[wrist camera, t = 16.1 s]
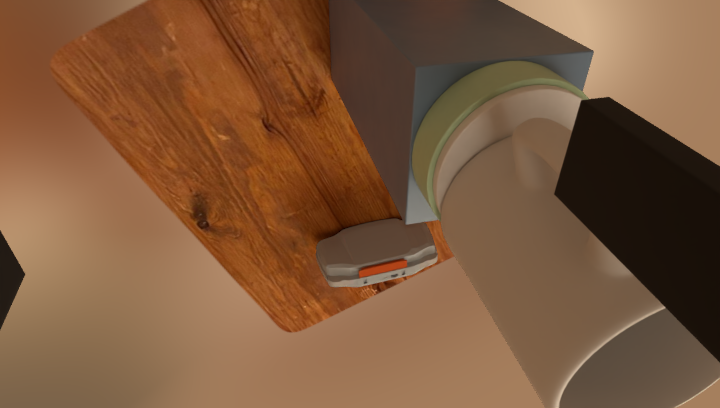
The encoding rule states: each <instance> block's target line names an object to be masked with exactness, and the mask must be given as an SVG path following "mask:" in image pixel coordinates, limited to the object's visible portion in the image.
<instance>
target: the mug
mask: <svg viewBox="0 0 720 408" xmlns="http://www.w3.org/2000/svg"><path fill="white" fill-rule="evenodd" d="M571 133H572V131H571V130H570V129H568V128H566V127H565V126H563V125H561V124H559V123H557V122H555V121H553V120H550V119H548V118H532V119H528V120H526V121H525V122H523V123H521V124H520V125H518V126H517V128H516V129H515V130H514V132H513V135H512V136H509V137H507V138H504V139H502V140H500V141H498V142H496V143H494V144H492V145H490V146H489V147H487V148H485V149H484V150H482V151H481V152H480V153H478V154H477V155H476V156H475V157H473V158H472V159H471V160H470V161H469V162H468V163H467V164H466V165H465V166H464V167H463V168H462V170H461V171H460V172H459V173H458V174H457V176H456V177H455V179H454V180H453V182H452V183H451V185H450V187H449V189H448V191H447V193H446V196H445V199H444V201H443V205H442V210H441V227H442V231H443V235H444V238H445V240H446V242H447V244H448V246H449V248H450V250H451V251H452V253H453V254H454V256H455V258H456V259H457V261H458V262H459V264H460V265H461V267H462V268H463V270H464V271H465V273H466V275H467V276H468V278H469V280H470V281H471V283H472V285H473V286H474V288H475V290H476V291H477V293H478V295H479V296H480V298H481V300H482V302H483V303H484V305H485V307H486V308H487V310H488V312H489V313H490V315H491V316H492V318H493V320H494V322H495V324H496V325H497V327H498V329H499V330H500V332H501V334H502V335H503V337H504V338H505V340H506V342H507V344H508V345H509V347H510V349H511V351H512V352H513V354H514V356H515V357H516V359H517V361H518V362H519V364H520V366H521V367H522V369H523V371H524V372H525V374H526V376H527V378H528V379H529V381H530V383H531V384H532V386H533V388H534V389H535V391H536V393H537V394H538V396H539V398H540V400H541V401H542V403H543V405H544V406H545V408H677V407H679V406H680V405H682V404H684V403H685V402H687V401H689V400H690V399H692V398H693V397H695V396H697V395H698V394H700V393H701V392H703V391H704V390H705V389H707V388H708V387H710V386H711V385H712V384H714V383H715V382H716V381H718V380H719V379H720V362H719V361H718V360H717V359H716V358H715V357H714V356H713V355H712V354H711V353H710V352H709V351H708V350H707V349H706V348H705V347H704V346H703V345H702V344H701V343H700V342H699V341H698V340H697V339H696V338H695V337H694V336H693V335H692V334H691V333H690V332H689V331H688V330H687V329H686V328H685V327H684V326H683V325H682V324H681V323H680V322H679V321H678V320H677V319H676V318H675V317H674V316H673V315H672V314H671V313H670V312H669V311H668V310H667V309H666V308H665V307H664V306H663V305H662V304H661V302H660V301H659V300H658V299H657V298H656V297H655V296H654V295H653V294H652V293H651V292H650V291H649V290H648V289H647V288H646V287H645V286H644V285H643V284H642V283H641V282H640V281H639V280H638V279H637V278H636V277H635V276H634V275H633V274H632V273H631V272H630V271H629V270H628V269H627V268H626V267H625V266H624V265H623V264H622V263H621V262H620V261H619V260H618V259H617V258H616V257H615V256H614V255H613V254H612V253H611V252H610V251H609V250H608V249H607V248H606V247H605V246H604V245H603V244H602V243H601V242H600V241H599V240H598V238H597V237H596V236H595V235H594V234H593V233H592V232H591V231H590V230H589V229H588V228H587V227H586V226H585V225H584V224H583V223H582V222H581V221H580V220H579V219H578V218H577V217H576V216H575V215H574V214H573V213H572V212H571V211H570V210H569V209H568V208H567V207H566V206H565V205H564V204H563V203H562V202H561V201H560V200H559V199H558V198H557V197H556V196H555V195H554V192H555V189H556V185H557V182H558V178H559V175H560V171H561V168H562V164H563V161H564V158H565V154H566V151H567V147H568V144H569V140H570V137H571Z"/></svg>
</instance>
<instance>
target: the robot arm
mask: <svg viewBox="0 0 720 408" xmlns="http://www.w3.org/2000/svg"><path fill="white" fill-rule="evenodd" d="M554 195H555V196H556V197H557V198H558V199H559V200H560V201H561V202H562V203H563V204H564V205H565V206H566V207H567V208H568V209H569V210H570V211H571V212H572V213H573V214H574V215H575V216H576V217H577V218H578V219H579V220H580V221H581V222H582V223H583V224H584V225H585V226H586V227H587V228H588V229H589V230H590V231H591V232H592V233H593V234H594V235H595V236H596V237H597V238H598V240H599V241H600V242H601V243H602V244H603V245H604V246H605V247H606V248H607V249H608V250H609V251H610V252H611V253H612V254H613V255H614V256H615V257H616V258H617V259H618V260H619V261H620V262H621V263H622V264H623V265H624V266H625V267H626V268H627V269H628V270H629V271H630V272H631V273H632V274H633V275H634V276H635V277H636V278H637V279H638V280H639V281H640V282H641V283H642V284H643V285H644V286H645V287H646V288H647V289H648V290H649V291H650V292H651V293H652V294H653V295H654V296H655V297H656V298H657V299H658V300H659V301H660V302H661V304H662V305H663V306H664V307H665V308H666V309H667V310H668V311H669V312H670V313H671V314H672V315H673V316H674V317H675V318H676V319H677V320H678V321H679V322H680V323H681V324H682V325H683V326H684V327H685V328H686V329H687V330H688V331H689V332H690V333H691V334H692V335H693V336H694V337H695V338H696V339H697V340H698V341H699V342H700V343H701V344H702V345H703V346H704V347H705V348H706V349H707V350H708V351H709V352H710V353H711V354H712V355H713V356H714V357H715V358H716V359H717V360H718V361H719V362H720V166H718V165H717V164H715V163H713V162H712V161H710V160H708V159H707V158H705V157H704V156H702V155H701V154H699V153H697V152H696V151H694V150H693V149H691V148H690V147H688V146H686V145H685V144H683V143H681V142H680V141H678V140H677V139H675V138H674V137H672V136H670V135H669V134H667V133H665V132H664V131H662V130H661V129H659V128H658V127H656V126H654V125H653V124H651V123H650V122H648V121H646V120H645V119H643V118H642V117H640V116H638V115H637V114H635V113H634V112H632V111H630V110H629V109H627V108H626V107H624V106H622V105H621V104H619V103H618V102H616V101H614V100H613V99H611V98H610V97H606V98H597V99H587V100H581V102H580V106H579V109H578V112H577V116H576V119H575V123H574V126H573V130H572V133H571V137H570V140H569V144H568V147H567V151H566V154H565V158H564V161H563V164H562V168H561V171H560V175H559V178H558V182H557V185H556V189H555V192H554ZM24 276H25V273H24V272H23V269H22V268H21V266H20V264H19V263H18V261H17V259H16V257H15V256H14V254H13V252H12V250H11V248H10V247H9V245H8V243H7V241H6V240H5V238H4V236H3V235H2V233H1V231H0V329H1V327H2V325H3V323H4V320H5V318H6V316H7V313H8V311H9V309H10V307H11V305H12V302H13V300H14V298H15V296H16V294H17V291H18V289H19V287H20V285H21V282H22V280H23V278H24Z"/></svg>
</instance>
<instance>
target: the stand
mask: <svg viewBox="0 0 720 408" xmlns="http://www.w3.org/2000/svg"><path fill="white" fill-rule="evenodd" d="M329 22H330V48H331V75H332V81H333V83H334V85H335V87H336V89H337V91H338V93H339V95H340V97H341V99H342V101H343V103H344V105H345V107H346V109H347V111H348V113H349V115H350V117H351V119H352V121H353V123H354V124H355V126H356V128H357V130H358V132H359V134H360V136H361V138H362V140H363V142H364V144H365V146H366V148H367V150H368V152H369V154H370V156H371V158H372V160H373V162H374V164H375V166H376V168H377V170H378V172H379V174H380V176H381V178H382V180H383V182H384V184H385V186H386V188H387V190H388V192H389V194H390V196H391V198H392V200H393V201H394V203H395V205H396V207H397V209H398V211H399V213H400V215H401V217H402V219H403V221H404V223H405V224H406V225H407V224H414V223H420V222H427V221H433V220H439V219H438V218H437V217H436V216H435V214H434V213H433V211H432V209H431V208H430V206H429V204H428V203H427V201H426V199H425V198H424V196H423V194H422V193H421V191H420V189H419V187H418V185H417V184H416V181H415V178H414V175H413V169H412V152H413V145H414V141H415V138H416V134H417V132H418V129H419V127H420V125H421V123H422V121H423V119H424V117H425V116H426V114H427V112H428V111H429V109H430V108H431V107H432V105H433V104H434V103H435V102H436V100H437V99H438V98H439V97H440V96H441V95H442V94H443V93H444V92H445V91H446V90H447V89H448V88H449V87H451V86H452V85H453V84H454V83H456V82H457V81H459V80H460V79H461V78H463V77H464V76H466V75H468V74H470V73H471V72H473V71H475V70H478V69H480V68H482V67H485V66H488V65H491V64H495V63H499V62H505V61H527V62H533V63H536V64H539V65H542V66H544V67H546V68H548V69H550V70H551V71H553V72H554V73H556V74H557V75H559V76H560V77H562V78H564V79H565V80H567V81H568V82H570V83H571V84H573V85H574V86H576V87H577V88H578V89H580V90H581V91H583V87H584V84H585V81H586V77H587V74H588V70H589V67H590V63H591V60H592V56H593V53H594V52H593V50H591V49H589V48H587V47H585V46H583V45H582V44H580V43H578V42H576V41H574V40H572V39H570V38H568V37H566V36H564V35H563V34H561V33H559V32H557V31H555V30H553V29H551V28H549V27H548V26H545V25H544V24H542V23H540V22H538V21H536V20H534V19H532V18H531V17H529V16H527V15H525V14H523V13H521V12H519V11H517V10H515V9H514V8H512V7H510V6H508V5H506V4H504V3H502V2H500V1H498V0H329Z"/></svg>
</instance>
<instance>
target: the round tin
mask: <svg viewBox="0 0 720 408" xmlns="http://www.w3.org/2000/svg"><path fill="white" fill-rule="evenodd" d="M587 99H589V98H588V97H587V96H586V95H585V94H584V93H583V92H582V91H581V90H580V89H578V88H577V87H576V86H574V85H573V84H571V83H570V82H568V81H567V80H565V79H564V78H562V77H560V76H559V75H557V74H556V73H554V72H553V71H551V70H550V69H548V68H546V67H544V66H542V65H539V64H536V63H533V62H527V61H505V62H499V63H495V64H491V65H488V66H485V67H482V68H480V69H478V70H475V71H473V72H471V73H470V74H468V75H466V76H464V77H463V78H461V79H460V80H459V81H457V82H456V83H454V84H453V85H452V86H451V87H449V88H448V89H447V90H446V91H445V92H444V93H443V94H442V95H441V96H440V97H439V98H438V99H437V100H436V102H435V103H434V104H433V105H432V107H431V108H430V109H429V111H428V112H427V114H426V116H425V117H424V119H423V121H422V123H421V125H420V127H419V129H418V132H417V134H416V138H415V141H414V145H413V152H412V169H413V175H414V178H415V181H416V184H417V185H418V187H419V189H420V191H421V193H422V194H423V196H424V198H425V199H426V201H427V203H428V204H429V206H430V208H431V209H432V211H433V213H434V214H435V216H436V217H437V218H438V219H439V221H440V222H441V210H442V205H443V201H444V199H445V196H446V193H447V191H448V189H449V187H450V185H451V183H452V182H453V180H454V179H455V177H456V176H457V174H458V173H459V172H460V171H461V170H462V168H463V167H464V166H465V165H466V164H467V163H468V162H469V161H470V160H471V159H472V158H473V157H475V156H476V155H477V154H478V153H480V152H481V151H482V150H484V149H485V148H487V147H489V146H490V145H492V144H494V143H496V142H498V141H500V140H502V139H504V138H507V137H509V136H512V135H513V132H514V130H515V129H516V128H517V126H518V125H520V124H521V123H523V122H525V121H526V120H528V119H532V118H548V119H550V120H553V121H555V122H557V123H559V124H561V125H563V126H565V127H566V128H568V129H570V130H571V131H572V130H573V126H574V123H575V119H576V116H577V112H578V109H579V106H580V102H581V100H587Z"/></svg>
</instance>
